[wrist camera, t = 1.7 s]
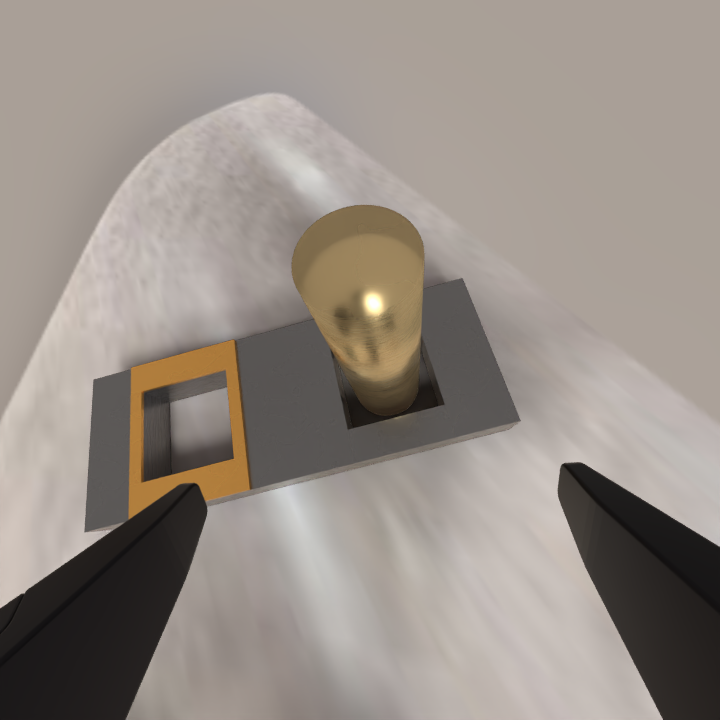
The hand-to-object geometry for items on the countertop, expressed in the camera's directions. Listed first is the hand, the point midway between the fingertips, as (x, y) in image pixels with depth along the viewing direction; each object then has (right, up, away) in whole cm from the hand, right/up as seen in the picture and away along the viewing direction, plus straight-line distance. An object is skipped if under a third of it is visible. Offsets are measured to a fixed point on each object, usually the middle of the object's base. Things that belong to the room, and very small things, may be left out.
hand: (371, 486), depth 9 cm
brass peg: (+1, +2, +14) cm, 14 cm away
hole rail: (-4, 0, +14) cm, 15 cm away
